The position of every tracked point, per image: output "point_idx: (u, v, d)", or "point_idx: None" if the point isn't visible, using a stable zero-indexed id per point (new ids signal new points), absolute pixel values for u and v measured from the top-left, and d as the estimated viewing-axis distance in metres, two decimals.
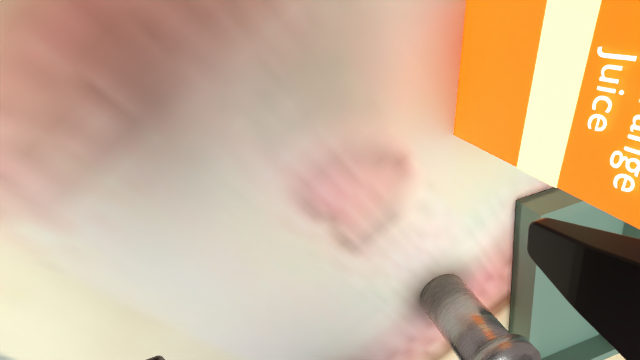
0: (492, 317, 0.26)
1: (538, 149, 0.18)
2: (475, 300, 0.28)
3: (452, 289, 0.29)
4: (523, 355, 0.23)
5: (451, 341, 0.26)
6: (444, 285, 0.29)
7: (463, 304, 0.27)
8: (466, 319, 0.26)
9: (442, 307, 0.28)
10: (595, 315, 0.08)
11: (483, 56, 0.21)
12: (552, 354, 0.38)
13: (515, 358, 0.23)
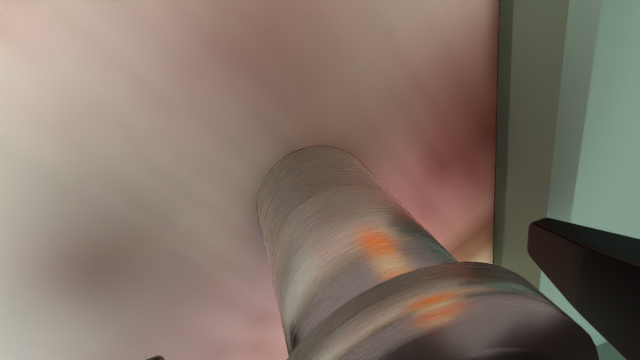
0: (415, 227, 0.08)
1: None
2: (375, 189, 0.09)
3: (318, 168, 0.10)
4: None
5: (280, 310, 0.08)
6: (302, 163, 0.10)
7: (332, 194, 0.09)
8: (322, 234, 0.07)
9: (278, 213, 0.09)
10: (595, 315, 0.08)
11: None
12: None
13: None
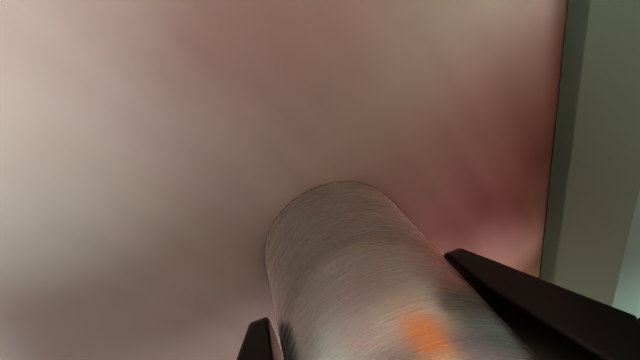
0: (492, 323, 0.05)
1: None
2: (423, 253, 0.07)
3: (344, 218, 0.08)
4: None
5: None
6: (323, 208, 0.08)
7: (368, 265, 0.06)
8: (362, 336, 0.05)
9: (294, 283, 0.07)
10: None
11: None
12: None
13: None
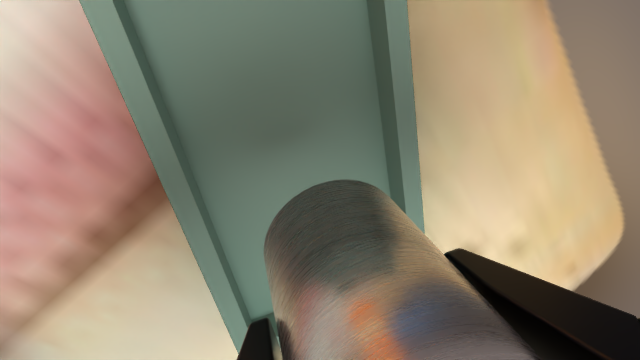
0: (492, 321, 0.05)
1: None
2: (422, 250, 0.07)
3: (343, 215, 0.08)
4: None
5: None
6: (322, 206, 0.08)
7: (368, 262, 0.06)
8: (360, 333, 0.05)
9: (293, 280, 0.07)
10: None
11: None
12: None
13: None
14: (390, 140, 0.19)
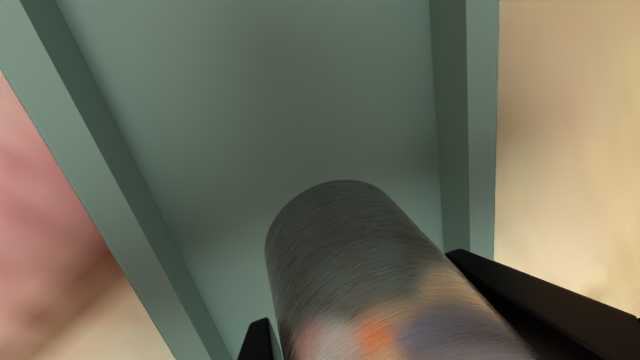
0: (494, 321, 0.05)
1: None
2: (423, 250, 0.07)
3: (344, 215, 0.08)
4: None
5: None
6: (323, 206, 0.08)
7: (368, 262, 0.06)
8: (362, 334, 0.05)
9: (294, 280, 0.07)
10: None
11: None
12: None
13: None
14: (452, 180, 0.13)
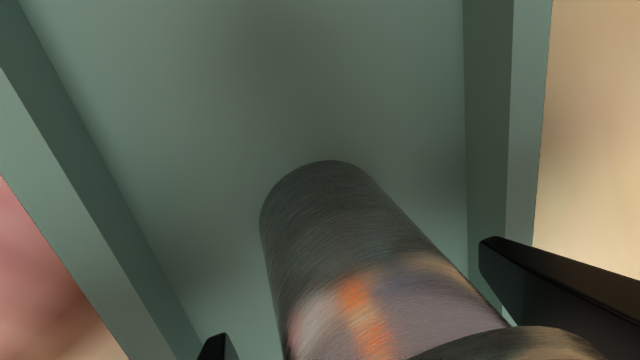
0: (441, 262, 0.06)
1: None
2: (391, 213, 0.08)
3: (326, 187, 0.09)
4: None
5: (283, 358, 0.07)
6: (308, 181, 0.09)
7: (343, 221, 0.07)
8: (333, 271, 0.06)
9: (282, 240, 0.08)
10: None
11: None
12: None
13: None
14: (483, 204, 0.11)
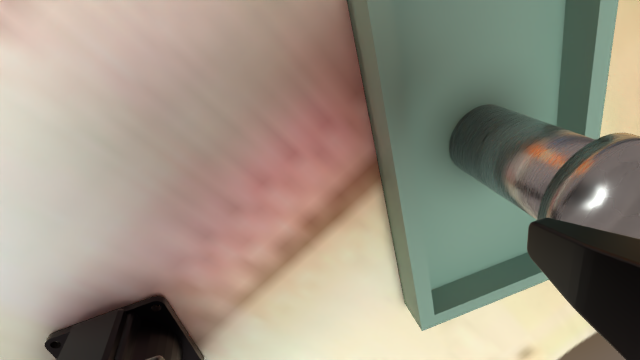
0: None
1: None
2: (542, 121, 0.17)
3: (502, 114, 0.18)
4: None
5: (509, 178, 0.16)
6: (488, 112, 0.19)
7: (525, 123, 0.17)
8: (534, 137, 0.15)
9: (488, 137, 0.17)
10: (595, 315, 0.08)
11: None
12: (473, 274, 0.25)
13: (637, 170, 0.13)
14: (569, 128, 0.20)
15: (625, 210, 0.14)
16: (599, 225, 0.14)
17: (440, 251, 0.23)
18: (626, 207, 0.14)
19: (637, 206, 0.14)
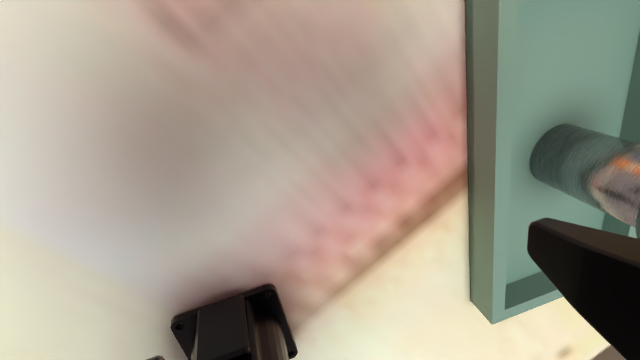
0: None
1: None
2: None
3: (585, 131, 0.21)
4: None
5: (601, 185, 0.19)
6: (571, 130, 0.21)
7: (611, 140, 0.20)
8: (625, 152, 0.18)
9: (576, 151, 0.20)
10: (595, 315, 0.08)
11: None
12: (533, 275, 0.28)
13: None
14: None
15: None
16: None
17: (509, 252, 0.26)
18: None
19: None
